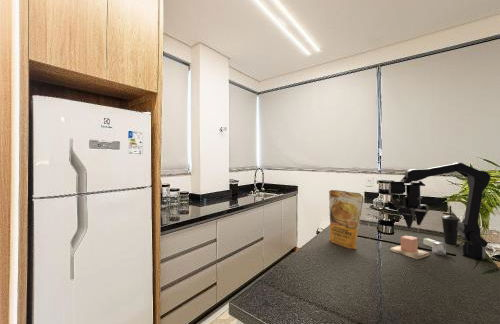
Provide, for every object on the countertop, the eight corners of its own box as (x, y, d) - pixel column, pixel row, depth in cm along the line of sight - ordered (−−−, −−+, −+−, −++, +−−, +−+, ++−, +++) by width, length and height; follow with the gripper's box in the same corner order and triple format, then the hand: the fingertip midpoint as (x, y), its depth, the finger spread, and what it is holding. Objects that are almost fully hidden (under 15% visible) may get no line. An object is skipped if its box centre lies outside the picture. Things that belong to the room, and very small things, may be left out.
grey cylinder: (447, 254, 110) (447, 243, 110) (442, 256, 107) (442, 245, 107) (435, 250, 114) (435, 240, 114) (430, 252, 112) (430, 242, 112)
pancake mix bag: (332, 238, 132) (332, 189, 133) (364, 249, 116) (364, 192, 116) (324, 240, 129) (324, 189, 129) (355, 251, 112) (355, 193, 113)
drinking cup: (464, 245, 121) (463, 207, 122) (449, 245, 122) (449, 207, 122) (451, 240, 129) (451, 204, 129) (437, 240, 129) (437, 204, 129)
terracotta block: (417, 251, 110) (417, 238, 110) (412, 252, 108) (412, 239, 108) (406, 247, 114) (406, 235, 115) (400, 249, 112) (400, 237, 112)
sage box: (439, 248, 118) (439, 242, 118) (434, 248, 118) (434, 242, 118) (428, 243, 124) (428, 238, 124) (423, 244, 124) (423, 238, 124)
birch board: (429, 255, 108) (429, 252, 108) (417, 259, 103) (417, 256, 103) (401, 247, 119) (401, 244, 119) (390, 250, 114) (390, 248, 114)
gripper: (405, 192, 127) (406, 220, 126) (386, 194, 117) (386, 225, 117) (429, 194, 117) (430, 225, 117) (410, 196, 108) (411, 230, 107)
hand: (413, 226), depth 115 cm, fingers open, 9 cm apart
